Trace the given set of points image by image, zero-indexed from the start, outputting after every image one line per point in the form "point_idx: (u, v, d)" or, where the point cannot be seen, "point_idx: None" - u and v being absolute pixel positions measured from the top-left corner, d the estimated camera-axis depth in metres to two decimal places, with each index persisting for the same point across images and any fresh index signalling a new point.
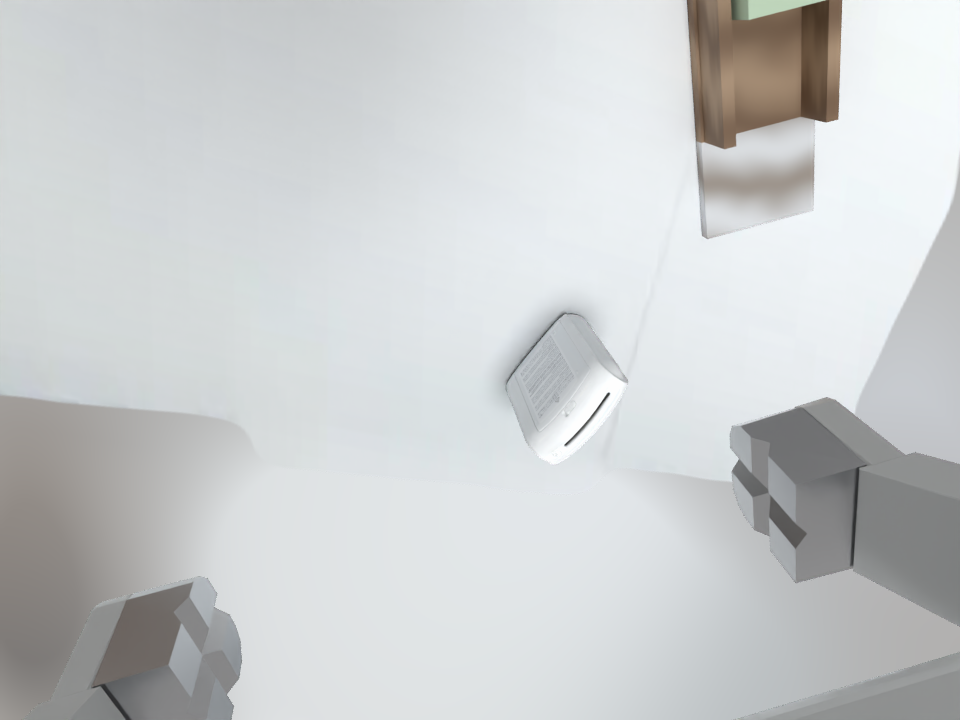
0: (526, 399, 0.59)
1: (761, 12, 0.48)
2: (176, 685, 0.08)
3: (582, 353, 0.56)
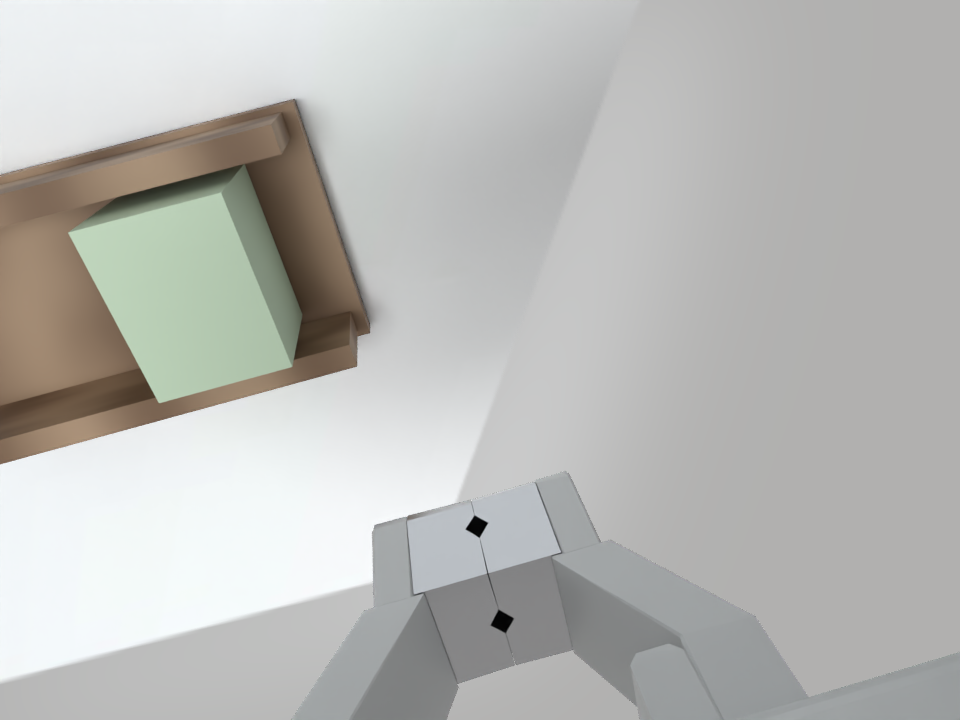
0: None
1: (91, 257, 0.22)
2: (488, 595, 0.09)
3: None
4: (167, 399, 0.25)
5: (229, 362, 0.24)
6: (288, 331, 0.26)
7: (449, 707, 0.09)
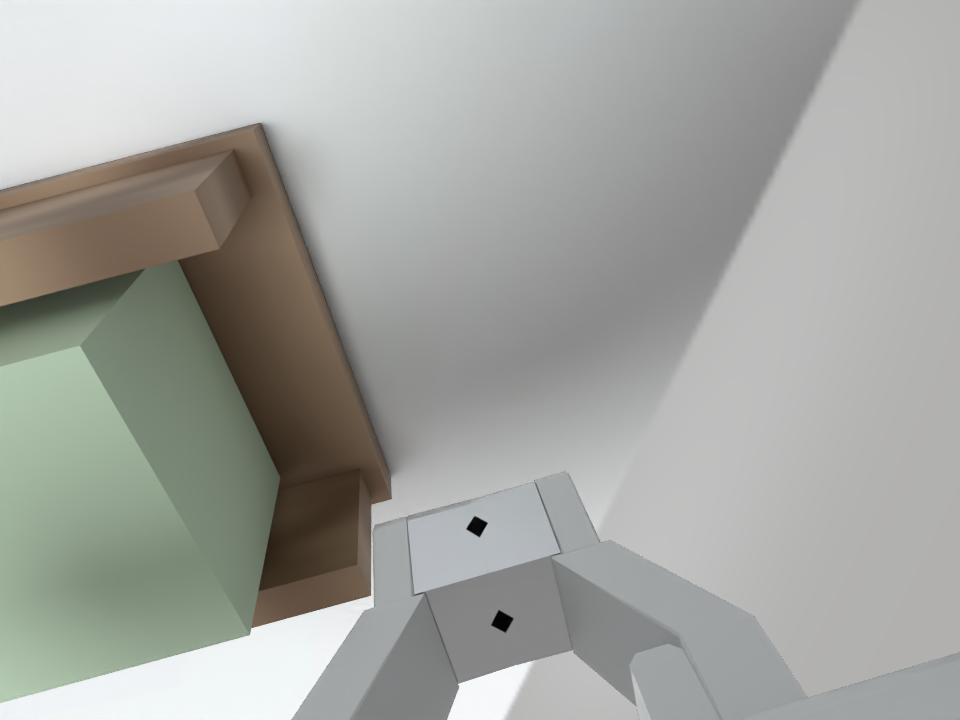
0: None
1: None
2: (488, 595, 0.08)
3: None
4: (15, 695, 0.13)
5: (129, 634, 0.13)
6: (246, 552, 0.14)
7: (449, 707, 0.09)
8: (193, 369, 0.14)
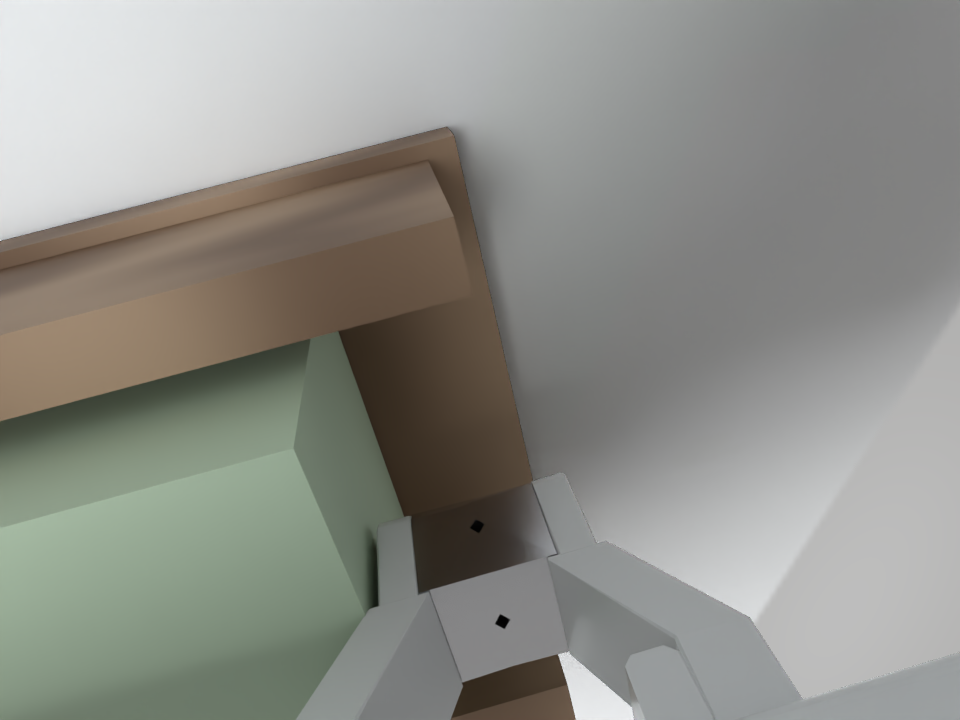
0: None
1: None
2: (492, 594, 0.09)
3: None
4: None
5: None
6: None
7: (454, 706, 0.09)
8: (359, 446, 0.11)
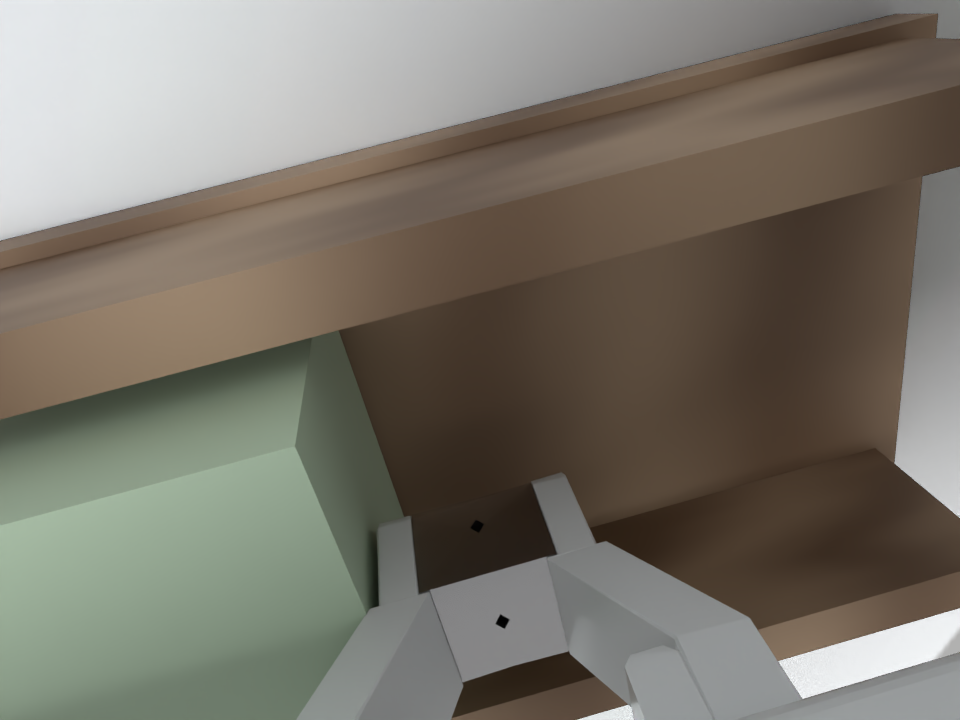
0: None
1: None
2: (493, 594, 0.09)
3: None
4: None
5: None
6: None
7: (454, 705, 0.09)
8: (359, 445, 0.11)
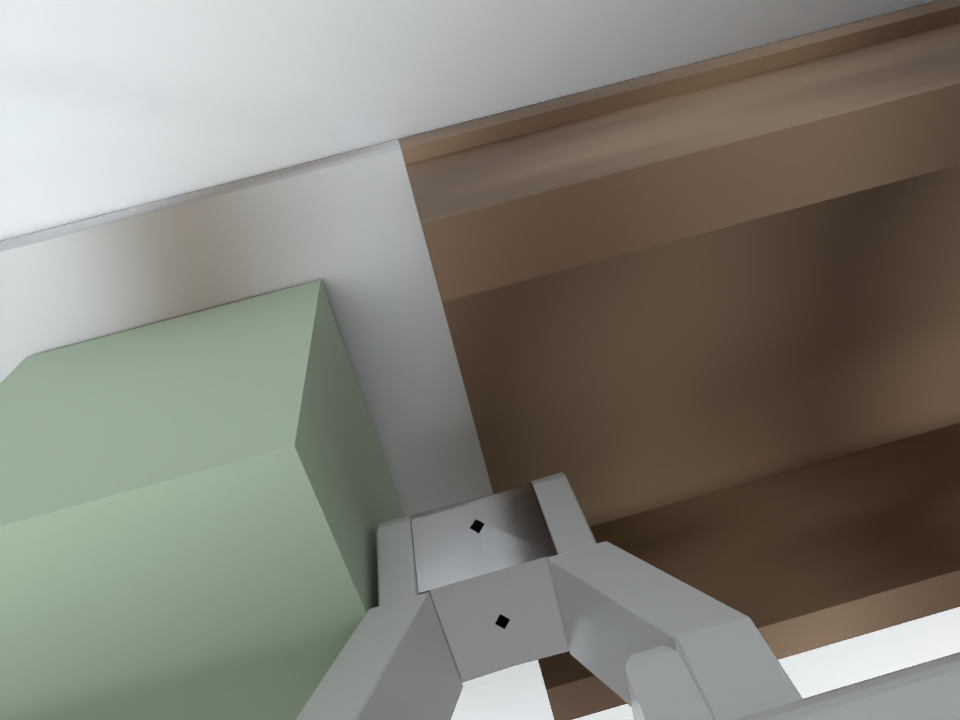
0: None
1: None
2: (492, 594, 0.09)
3: None
4: None
5: None
6: None
7: (454, 706, 0.09)
8: (359, 445, 0.11)
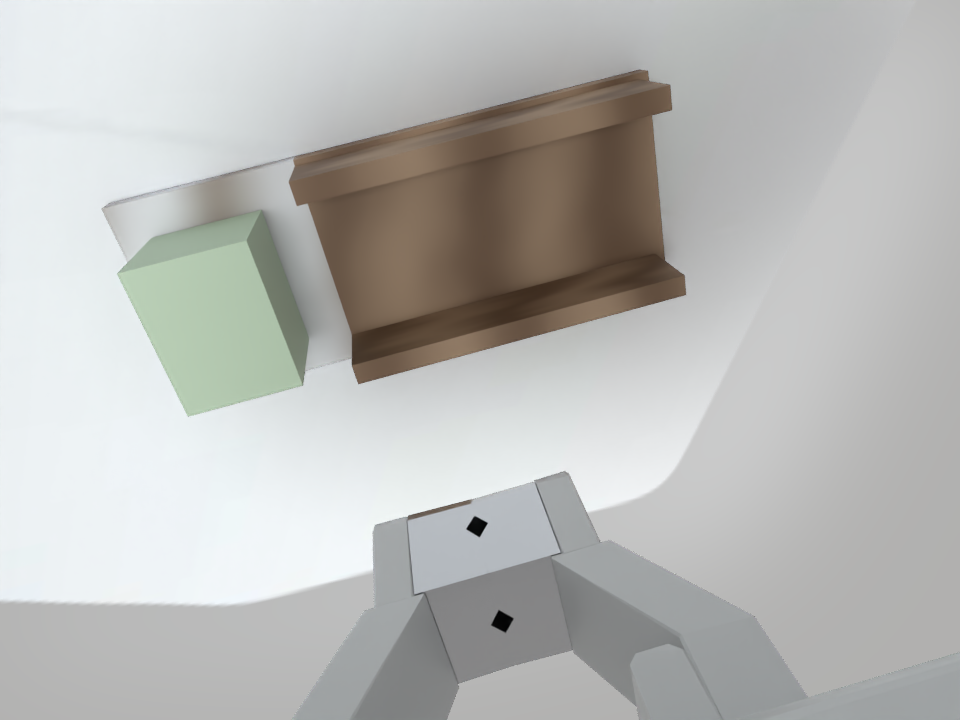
0: None
1: (135, 294, 0.26)
2: (488, 595, 0.08)
3: None
4: (195, 413, 0.29)
5: (249, 381, 0.29)
6: (299, 354, 0.30)
7: (450, 707, 0.09)
8: (274, 268, 0.30)
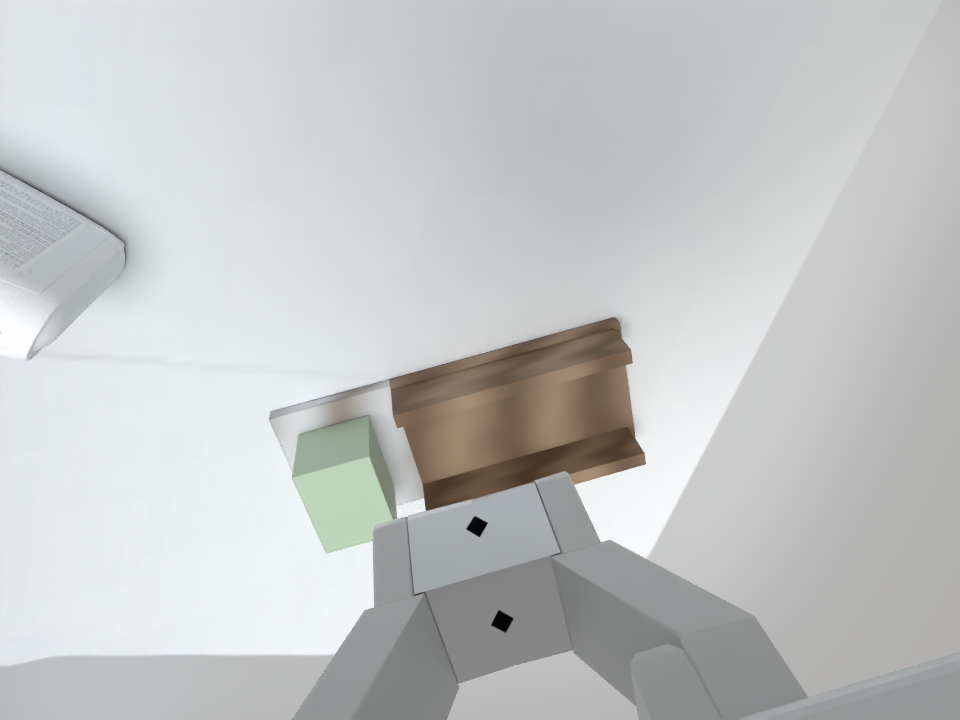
0: None
1: (301, 488, 0.43)
2: (488, 595, 0.08)
3: (64, 276, 0.33)
4: (330, 551, 0.46)
5: (365, 532, 0.45)
6: (393, 510, 0.47)
7: (449, 707, 0.09)
8: (378, 455, 0.46)
